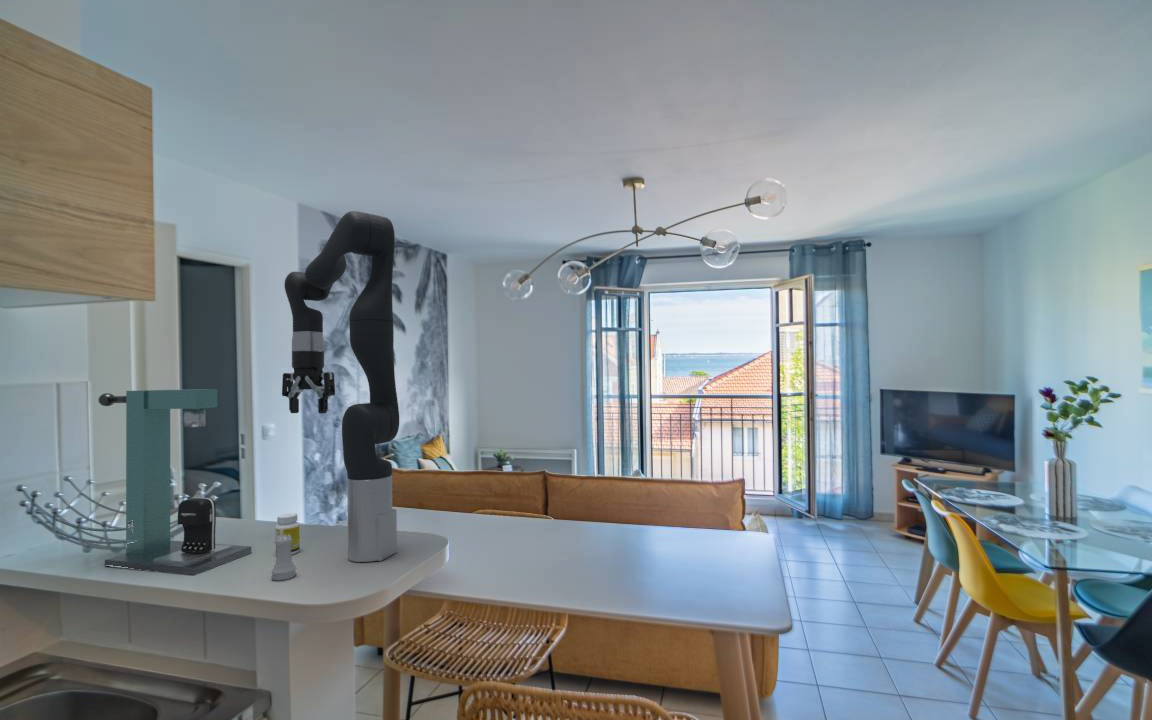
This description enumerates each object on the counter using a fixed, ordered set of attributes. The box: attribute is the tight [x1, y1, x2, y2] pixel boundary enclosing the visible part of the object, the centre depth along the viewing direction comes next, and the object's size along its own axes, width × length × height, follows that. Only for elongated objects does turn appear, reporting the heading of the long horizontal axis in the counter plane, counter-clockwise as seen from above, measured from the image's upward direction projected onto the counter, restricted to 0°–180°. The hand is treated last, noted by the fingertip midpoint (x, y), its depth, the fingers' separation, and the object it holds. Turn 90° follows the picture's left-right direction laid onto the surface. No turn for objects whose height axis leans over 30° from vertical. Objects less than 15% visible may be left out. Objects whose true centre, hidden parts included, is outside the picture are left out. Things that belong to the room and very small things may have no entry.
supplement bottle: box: [275, 512, 301, 556], centre depth 125 cm, size 5×5×8 cm
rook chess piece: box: [270, 535, 297, 582], centre depth 110 cm, size 4×4×8 cm
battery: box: [177, 497, 217, 553], centre depth 121 cm, size 7×4×11 cm, turn 78°
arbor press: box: [98, 388, 252, 576], centre depth 124 cm, size 35×14×37 cm, turn 75°
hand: (308, 413), depth 143 cm, fingers open, 8 cm apart
